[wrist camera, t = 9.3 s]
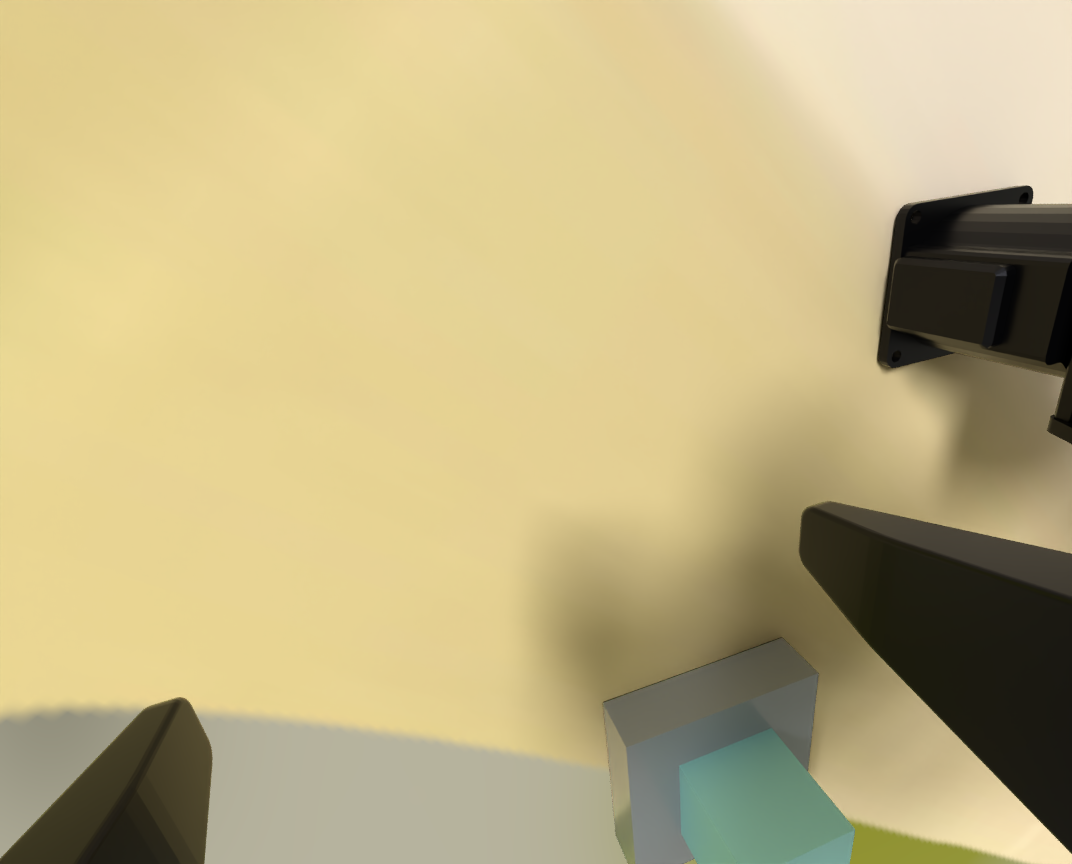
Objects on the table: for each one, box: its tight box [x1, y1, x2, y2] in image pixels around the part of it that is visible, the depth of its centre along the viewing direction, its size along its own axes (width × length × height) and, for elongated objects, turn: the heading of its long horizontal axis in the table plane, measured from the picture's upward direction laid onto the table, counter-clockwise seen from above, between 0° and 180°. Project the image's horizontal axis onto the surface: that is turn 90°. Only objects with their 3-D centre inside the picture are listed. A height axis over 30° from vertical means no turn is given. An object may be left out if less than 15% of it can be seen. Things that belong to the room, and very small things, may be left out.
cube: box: [679, 728, 855, 864], centre depth 25 cm, size 5×5×5 cm
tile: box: [603, 638, 819, 864], centre depth 29 cm, size 10×10×2 cm
